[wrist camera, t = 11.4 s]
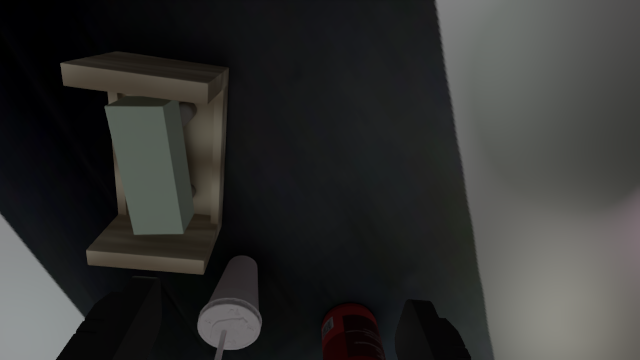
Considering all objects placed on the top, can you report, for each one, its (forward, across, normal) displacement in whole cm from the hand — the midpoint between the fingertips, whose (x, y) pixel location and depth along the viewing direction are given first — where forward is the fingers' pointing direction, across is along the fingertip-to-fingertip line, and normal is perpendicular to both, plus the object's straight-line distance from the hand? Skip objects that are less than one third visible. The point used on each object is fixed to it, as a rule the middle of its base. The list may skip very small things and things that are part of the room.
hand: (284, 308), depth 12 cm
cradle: (+28, +12, +6) cm, 31 cm away
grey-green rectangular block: (+24, +12, +6) cm, 28 cm away
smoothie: (+28, +4, +21) cm, 35 cm away
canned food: (+28, -11, +29) cm, 42 cm away
